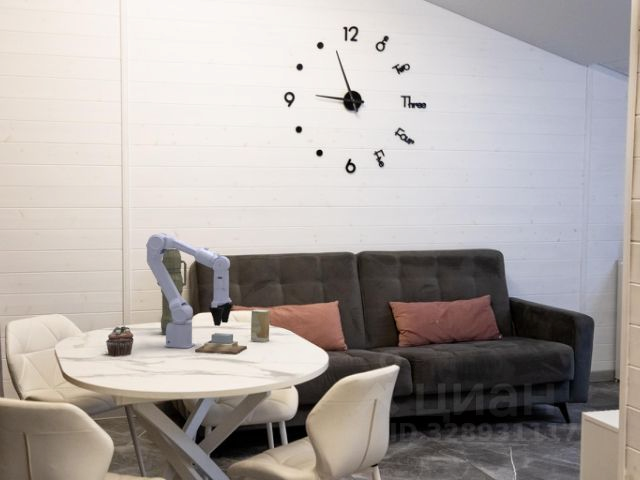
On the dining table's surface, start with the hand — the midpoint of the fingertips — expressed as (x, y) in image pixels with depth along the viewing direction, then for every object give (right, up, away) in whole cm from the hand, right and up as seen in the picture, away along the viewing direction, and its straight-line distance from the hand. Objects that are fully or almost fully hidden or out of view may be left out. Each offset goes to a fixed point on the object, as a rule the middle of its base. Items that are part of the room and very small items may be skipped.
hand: (221, 324), depth 321 cm
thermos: (-24, -7, +30) cm, 39 cm away
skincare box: (+14, -8, +15) cm, 22 cm away
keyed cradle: (+1, -9, -6) cm, 11 cm away
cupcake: (-35, -10, -14) cm, 39 cm away
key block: (+1, -8, -6) cm, 10 cm away
